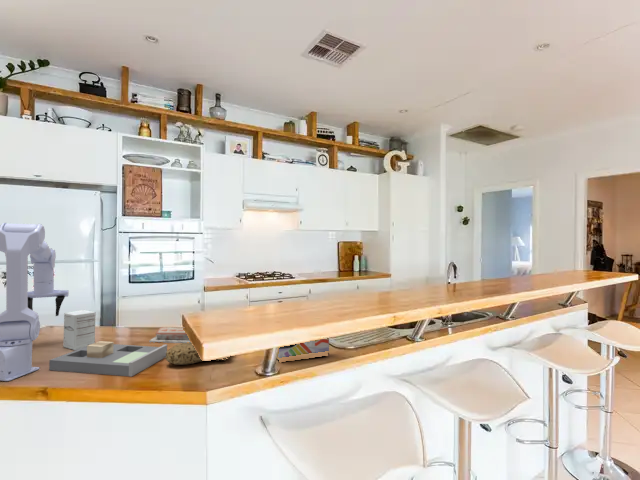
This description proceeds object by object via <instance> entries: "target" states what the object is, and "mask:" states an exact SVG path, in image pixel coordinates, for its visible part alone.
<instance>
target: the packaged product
mask: <svg viewBox="0 0 640 480" xmlns="http://www.w3.org/2000/svg"><path fill="white" fill-rule="evenodd" d="M183 328H184V327H178V326H177V327H176V326H175V327H173V326H172V327H171V326H169V327H168V326H162V327H159V329H158V330H157V331H156V333H155V336H154V337H152V338H151V339H150V340H148V341H149V343H151V342H153V344H154V343H155V342H158V343H160V342H163V343H165V344H182V343H187V342H189V343H191V342H190V340H189V338H188V336H187V334H186V333H185V331H184V330H183ZM163 343H162V344H163Z"/></svg>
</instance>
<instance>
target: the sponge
mask: <svg viewBox="0 0 640 480" xmlns="http://www.w3.org/2000/svg"><path fill="white" fill-rule="evenodd" d="M227 358H229V359H230V357H227ZM223 359H226V358H223ZM165 360H166V361H167V362H168V363H169V364H173V365H177V366H178V365H180V366H181V365H192V364H193V365H194V364H196V363H201V362H203V361H202V360H201V359H200V357H199V355H198V353H197V351H196V350H195V348H194V346H193V345H192V343H177V344H176V345H173V346H172V347H170V348H169V349H167V352H166V357H165ZM219 360H222V359H218V360H217V361H219Z"/></svg>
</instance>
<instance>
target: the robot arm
mask: <svg viewBox="0 0 640 480" xmlns="http://www.w3.org/2000/svg"><path fill="white" fill-rule="evenodd" d="M45 237H46V230H45V226H44V225H43V224H42V223H38V224H37V223H11V222H10V223H7V222H2V223H1V224H0V252H2V253H4V254H5V262H6V263H5V266H6V268H5V273H6V274H5V275H6V277H5V278H6V280H5V281H6V283H5V284H6V286H5V287H6V289H5V290H6V293H5V294H6V296H5V298H6V299H5V301H6V303H5V304H6V306H5V307H6V308H5V310H4V311H2V312H0V381H2V382H3V381H4V382H10V381H12V380H15V379H17V378H20V377H22V376H26V375H28V374H30V373H33V372H35V371H38V370H40V367H38V366H33V365H32V364H33V363H32V362H33V341H35V340H36V339H38V337H39V335H40V332H41V331H40V329H41V324H40V320H39V319H40V318H39V314H38V312H36V311H34V310H33V309H34V307H33V301H34V299H37V298H55V300H54V301H55V317H59V314H60V310H61V307H62V304H63V301H64V299H65V298H66V297H69V296H70V295H69V294H70V293H69V292H70V291H69V290H67V289H64V290H63V289H62V290H60V289H55V288H54V287H55V284H54V281H55V280H54V274H55V271H54V268H55V267H56V265H55V263H56V259H57V258H56V257H57V255H56V253H57V252H56V250H55V249H53V248H51V247H50V246H49V244H48V243H47V242H46V240H45ZM28 258H29V259H30V263H31V264H32V265H33V269H32V270H33V290H32V291H31V290H30V291H28V290H29V285H28V284H29V281H28V280H29V279H28V278H29V276H28V273H29V270H28V269H29V268H28V267H29V266H28V261H29V259H28Z"/></svg>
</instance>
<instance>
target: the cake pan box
mask: <svg viewBox="0 0 640 480" xmlns="http://www.w3.org/2000/svg"><path fill="white" fill-rule="evenodd" d="M325 351H329V352H330V337H329V338H327V339H321V340H315V341H310V342H305V343H300V344H295V345H290V346H284V347H280V348H279V354H278V357H279V358H282V357H289V356H296V355H301V354H309V353H318V352H325Z"/></svg>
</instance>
